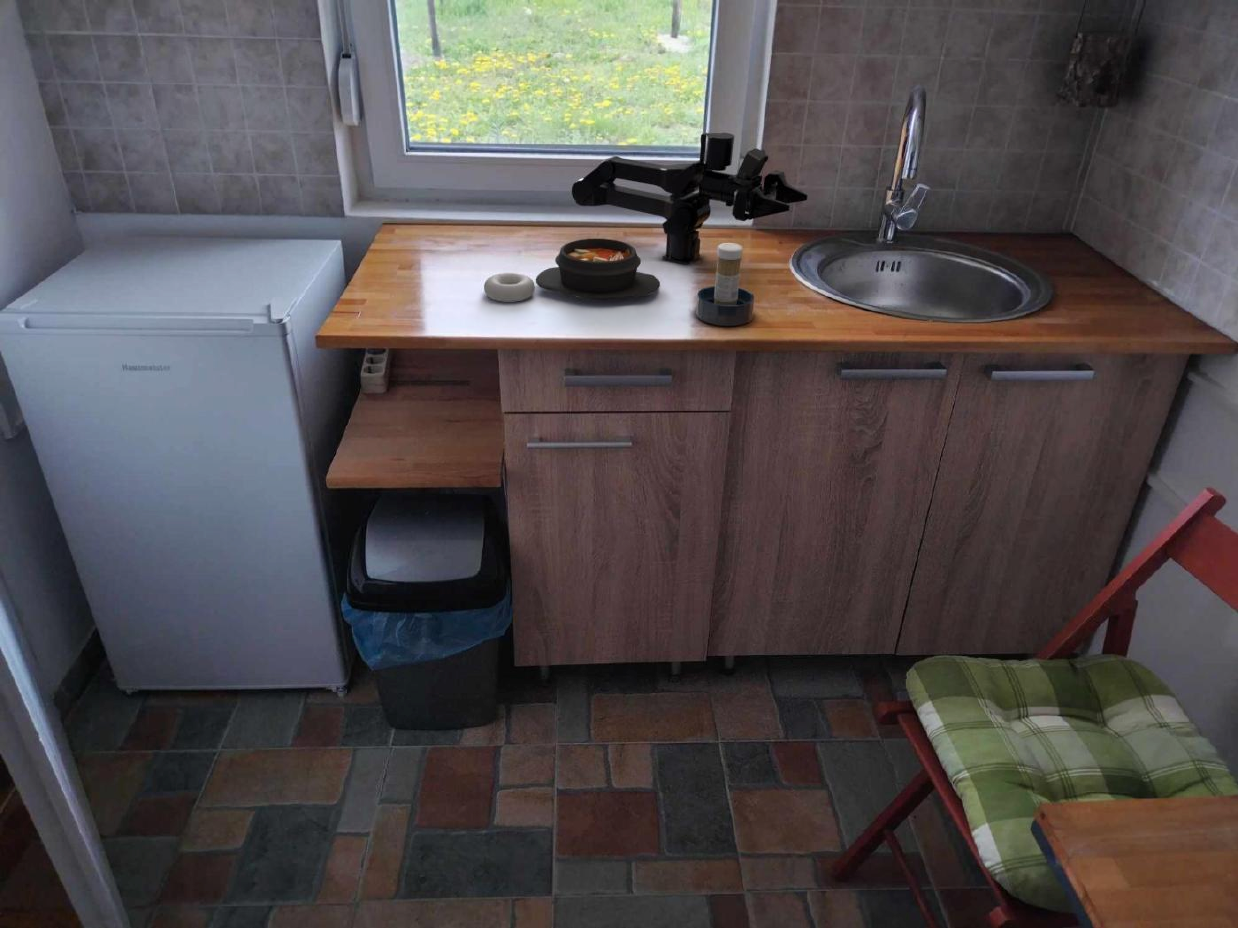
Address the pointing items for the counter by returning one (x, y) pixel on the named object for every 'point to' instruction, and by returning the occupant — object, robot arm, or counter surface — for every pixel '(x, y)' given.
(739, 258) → the sprinkles bottle
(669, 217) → the robot arm
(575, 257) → the casserole
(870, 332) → the counter surface
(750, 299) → the bowl
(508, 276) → the donut
